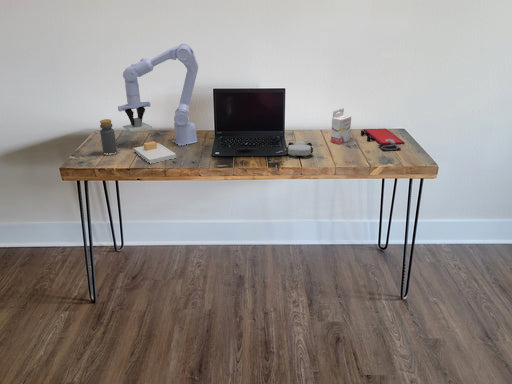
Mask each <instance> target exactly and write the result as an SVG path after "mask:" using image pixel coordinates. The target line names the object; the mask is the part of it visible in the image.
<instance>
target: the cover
mask: <svg viewBox="0 0 512 384" xmlns="http://www.w3.org/2000/svg"><path fill="white" fill-rule="evenodd" d="M133 118H134V125H131V124H126V125H122V128H123V129H125V130H126V131H129V132H130V133H131V132H137V131H143V130H147V129H152V128H153V126H152V125H150V124H148V123H147V122H146V123H145V121H144V122H143V121H142V124H141V119H140V118H138V117H133Z"/></svg>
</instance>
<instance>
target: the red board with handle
mask: <svg viewBox="0 0 512 384" xmlns="http://www.w3.org/2000/svg"><path fill="white" fill-rule="evenodd" d="M360 136H361V137H364V136H366V142H368V143H370V142H371V141H374V142H376V143H378V145H377V146H378V147H379V148H380V149H382V150H383V151H389V150H391V151H392V150H402V148H401V147H400V146H399V145H401V144H402V145H405V141H403V140H402V139H400V138H399V137H398V136H396V135H395V134H394V133H392V132H391V130H388V129H387V128H364V129H363V130H362V129H361V130H360Z"/></svg>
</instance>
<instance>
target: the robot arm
mask: <svg viewBox="0 0 512 384" xmlns="http://www.w3.org/2000/svg"><path fill="white" fill-rule="evenodd" d="M168 60H173V61H176V60H178V61H179V62H180V63H182V64H183V65H184V67H185V68H186V74H185V78H184V83H183V87H182V91H181V95H180V100H179V104H178V107H177V109H175V112H174V116H173V121H174V122H173V125H174V136H175V138H174V140H172V141H173V143H174V142H175V143H176V145H177V144H178V145H177V146H179V147H181V145H182V146H186V144H187V145H191V144H194V143H198V137H197V128H196V125H195V123H194V122H192V121H191V122H190V121H189V116H190V115H189V114H190V113H189V108H190V104H191V100H192V95H193V92H194V87H195V82H196V79H197V75H198V71H199V63H198V62H197V59H196V56H195V52H194V50H193V49H192V48H191V46H190V45H189V44H186V43H181V44H179V45H178V46H177V45H176V46H173V47H171V48H169V49H167V50H164V51H163V52H161V53H159V54H157V55H156V56H154V57H153V58H150V59H149V58H144V57H142V58H141V59H140V60H139V61H138V62H137V63H132V64H130V66H127V67H126V68H125V69H124V71H123V72H122V77H123V79H124V86H125V87H124V89H125V93H126V102H127V103H126V104H124V105H118V106H117V111H118V112H122V111H123V112H125V114H126V116H127V117H128V119H129V122H130V125H134V118H135V117H134V113H135V111H133V110H134V109H136V114H137V118H140V119H141V124H142V122H143V118H144V117H143V116H144V114H145V113H146V108H147V107H148V108H149V107H151V102H150V101H141V95H140V87H139V81H138V77H139V78H140V77H143V76H144V75H147V74H148V73H150V72H152V71H153V70H154V68H155V66H159V64H160V65H161V64H162V63H164V62H166V61H168ZM175 143H174V144H175Z"/></svg>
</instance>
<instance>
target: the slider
mask: <svg viewBox="0 0 512 384" xmlns="http://www.w3.org/2000/svg"><path fill="white" fill-rule="evenodd" d="M157 143H158V142H156V141H154V140H153V141H149V142H144V143H143V144H142V145H143V146H144V149H145V150H151V149H156V148H157Z"/></svg>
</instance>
